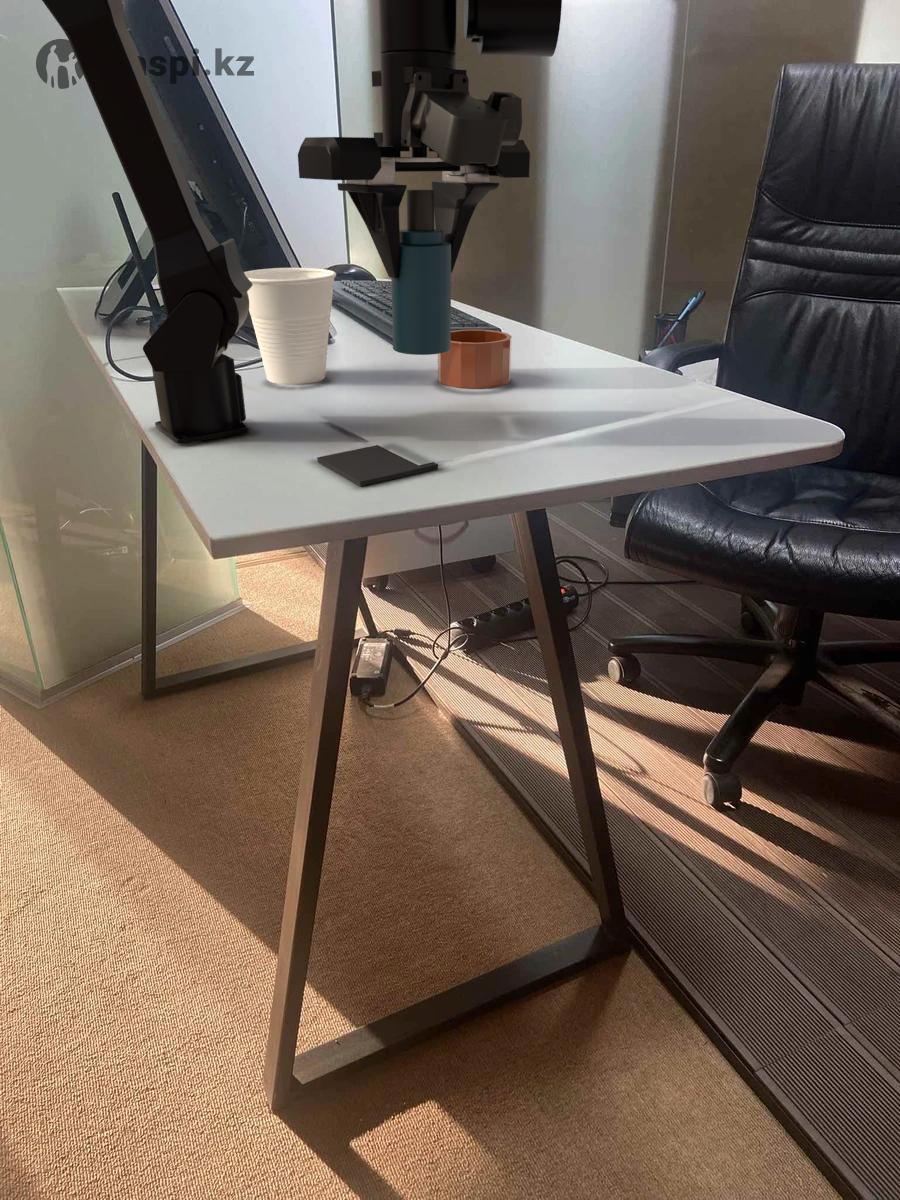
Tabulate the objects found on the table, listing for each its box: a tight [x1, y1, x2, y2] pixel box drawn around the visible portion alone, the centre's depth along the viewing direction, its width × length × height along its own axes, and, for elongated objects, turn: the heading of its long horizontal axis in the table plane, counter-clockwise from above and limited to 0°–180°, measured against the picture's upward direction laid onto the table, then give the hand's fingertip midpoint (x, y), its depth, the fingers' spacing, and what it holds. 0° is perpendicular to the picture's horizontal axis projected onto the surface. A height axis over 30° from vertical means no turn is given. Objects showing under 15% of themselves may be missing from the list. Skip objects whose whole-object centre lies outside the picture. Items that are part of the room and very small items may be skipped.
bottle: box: [390, 188, 452, 356], centre depth 71 cm, size 5×5×12 cm
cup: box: [243, 267, 337, 385], centre depth 90 cm, size 10×10×11 cm
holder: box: [437, 328, 513, 390], centre depth 90 cm, size 8×8×5 cm
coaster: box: [316, 444, 439, 487], centre depth 68 cm, size 7×7×1 cm
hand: (420, 275), depth 71 cm, fingers closed on bottle, 5 cm apart
